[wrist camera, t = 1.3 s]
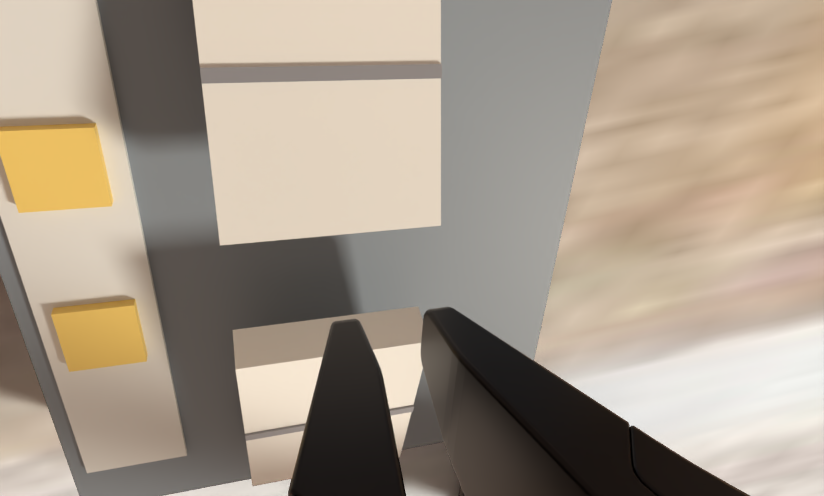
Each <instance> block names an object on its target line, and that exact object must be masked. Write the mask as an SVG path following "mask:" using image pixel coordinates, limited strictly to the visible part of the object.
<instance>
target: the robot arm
mask: <svg viewBox="0 0 824 496" xmlns="http://www.w3.org/2000/svg"><path fill="white" fill-rule="evenodd" d="M421 362H422V366H423V370H424V374H425V377H426V381H427V384H428V388H429V391H430V395H431V398H432V402H433V405H434V409H435V413H436V416H437V420H438V423H439V427H440V430H441V434H442V437H443V441H444V444H445V447H446V450H447V453H448V456H449V458H450V461H451V463H452V466H453V468H454V471H455V473H456V476H457V478H458V480H459V483H460V485H461V486H460V492H459V496H750V495H748V494H746V493H744V492H742V491H741V490H739V489H737V488H735V487H733V486H732V485H730V484H728V483H726V482H725V481H723V480H721V479H719V478H718V477H716V476H714V475H712V474H711V473H709V472H707V471H706V470H704V469H702V468H700V467H699V466H697V465H695V464H693V463H692V462H690V461H688V460H687V459H685V458H684V457H682V456H680V455H679V454H677V453H676V452H674V451H672V450H671V449H669V448H668V447H666V446H664V445H663V444H661V443H660V442H658V441H656V440H655V439H653V438H652V437H650V436H649V435H647V434H646V433H644V432H643V431H641V430H640V429H638V428H636V427H635V426H631V427H629V423H628V422H627V421H625V420H624V419H622V418H621V417H619V416H618V415H616V414H615V413H613V412H612V411H610V410H609V409H607V408H606V407H604V406H602V405H601V404H599V403H598V402H596V401H595V400H593V399H592V398H590V397H589V396H587V395H586V394H584V393H583V392H581V391H579V390H578V389H576V388H575V387H573V386H572V385H570V384H569V383H567V382H566V381H564V380H563V379H561V378H560V377H558V376H557V375H555V374H553V373H552V372H550V371H549V370H547V369H546V368H544V367H543V366H541V365H540V364H538V363H537V362H535V361H534V360H532V359H531V358H529V357H527V356H526V355H524V354H523V353H521V352H520V351H518V350H517V349H515V348H514V347H512V346H511V345H509V344H508V343H506V342H505V341H503V340H501V339H500V338H498V337H497V336H495V335H494V334H492V333H491V332H489V331H488V330H486V329H485V328H483V327H482V326H480V325H478V324H477V323H475V322H474V321H472V320H471V319H469V318H468V317H466V316H465V315H463V314H462V313H460V312H459V311H457V310H456V309H454V308H452V307H441V308H433V309H428V310H427V311H426V312H425V314H424V317H423V327H422V338H421ZM288 496H406V493H405V488H404V483H403V477H402V472H401V467H400V462H399V457H398V451H397V446H396V441H395V436H394V431H393V425H392V420H391V415H390V410H389V405H388V399H387V394H386V389H385V384H384V379H383V375H382V371H381V368H380V366H379V363H378V361H377V358H376V356H375V354H374V352H373V349H372V347H371V345H370V343H369V340H368V338H367V336H366V333H365V331H364V329H363V327H362V324H361V322H360V321H359V320H357V319H348V320H340V321H334V322H333V323H332V324H331V327H330V331H329V335H328V339H327V343H326V346H325V350H324V354H323V358H322V362H321V366H320V370H319V374H318V378H317V382H316V386H315V390H314V393H313V397H312V401H311V405H310V409H309V413H308V417H307V421H306V425H305V429H304V433H303V436H302V440H301V444H300V448H299V452H298V456H297V460H296V464H295V468H294V472H293V476H292V479H291V483H290V487H289V491H288Z"/></svg>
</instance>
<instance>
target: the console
mask: <svg viewBox="0 0 824 496" xmlns="http://www.w3.org/2000/svg"><path fill="white" fill-rule="evenodd" d="M611 3H612V0H441V64H442V78H441V226H431V227H420V228H409V229H398V230H387V231H376V232H365V233H354V234H342V235H331V236H320V237H309V238H298V239H287V240H276V241H265V242H254V243H243V244H232V245H221V246H220V242H219V233H218V224H217V215H216V206H215V197H214V188H213V179H212V170H211V161H210V153H209V144H208V135H207V126H206V117H205V108H204V99H203V90H202V83H201V74H200V63H199V55H198V46H197V37H196V28H195V19H194V10H193V1H192V0H0V275H1V277H2V280H3V283H4V286H5V289H6V291H7V294H8V297H9V300H10V303H11V305H12V308H13V311H14V314H15V317H16V319H17V322H18V325H19V328H20V331H21V333H22V336H23V339H24V342H25V345H26V347H27V350H28V353H29V356H30V359H31V361H32V364H33V367H34V370H35V373H36V375H37V378H38V381H39V384H40V387H41V389H42V392H43V395H44V398H45V401H46V403H47V406H48V409H49V412H50V415H51V417H52V420H53V423H54V426H55V429H56V431H57V434H58V437H59V440H60V443H61V445H62V448H63V451H64V454H65V457H66V459H67V462H68V465H69V468H70V471H71V473H72V476H73V479H74V482H75V485H76V487H77V490H78V493H79V496H163V495H168V494H174V493H179V492H184V491H189V490H195V489H200V488H205V487H210V486H216V485H221V484H226V483H231V482H236V481H242V480H247V479H251V472H250V465H249V458H248V451H247V445H246V439H245V431H244V424H243V417H242V411H241V404H240V397H239V390H238V384H237V377H236V370H235V356H234V342H233V330H236V329H244V328H252V327H260V326H268V325H275V324H283V323H291V322H299V321H307V320H315V319H323V318H331V317H339V316H347V315H354V314H362V313H370V312H378V311H386V310H394V309H402V308H410V307H419V310H420V313H421V316H422V320H423V317H424V314H425V312H426V311H427V310H428V309H433V308H441V307H452V308H454V309H456V310H457V311H459V312H460V313H462V314H463V315H465V316H466V317H468V318H469V319H471V320H472V321H474V322H475V323H477V324H478V325H480V326H482V327H483V328H485V329H486V330H488V331H489V332H491V333H492V334H494V335H495V336H497V337H498V338H500V339H501V340H503V341H505V342H506V343H508V344H509V345H511V346H512V347H514V348H515V349H517V350H518V351H520V352H521V353H523V354H524V355H526V356H527V357H529V358H531V359H532V360H534V357H535V353H536V348H537V343H538V339H539V334H540V330H541V325H542V320H543V316H544V311H545V307H546V302H547V297H548V293H549V288H550V284H551V279H552V274H553V270H554V265H555V261H556V256H557V251H558V247H559V242H560V238H561V233H562V228H563V224H564V219H565V215H566V210H567V205H568V201H569V196H570V192H571V187H572V182H573V178H574V173H575V169H576V164H577V160H578V155H579V150H580V146H581V141H582V137H583V132H584V127H585V123H586V118H587V114H588V109H589V104H590V100H591V95H592V91H593V86H594V81H595V77H596V72H597V68H598V63H599V58H600V54H601V49H602V45H603V40H604V35H605V31H606V26H607V22H608V17H609V12H610V8H611ZM440 442H444V441H443V437H442V434H441V430H440V427H439V423H438V420H437V416H436V413H435V409H434V405H433V402H432V398H431V395H430V391H429V388H428V384H427V381H426V377H425V374H424V370H422V374H421V377H420V381H419V385H418V389H417V393H416V397H415V401H414V409H413V412H411V416H410V420H409V424H408V428H407V432H406V436H405V439H404V443H403V447H402V450H404V449H409V448H414V447H419V446H425V445H430V444H435V443H440Z"/></svg>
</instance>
